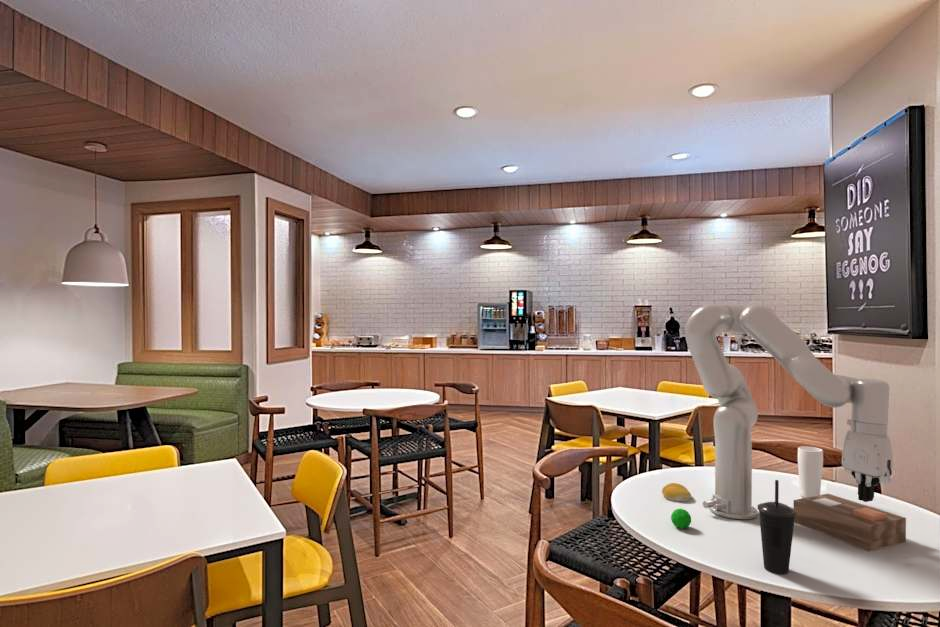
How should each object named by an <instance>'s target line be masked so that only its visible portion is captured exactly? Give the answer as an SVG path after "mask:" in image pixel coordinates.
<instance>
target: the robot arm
mask: <svg viewBox="0 0 940 627" xmlns="http://www.w3.org/2000/svg"><path fill="white" fill-rule="evenodd" d="M718 333H735V334H747V335H748V336H750V338H752V339H753V340H754V341H755V342H756V343H757V344H758V345H759V346H761V347H762V348H763V349H764V350H765V351H766V352H767V353H768V354H770V355H771V356H772V358H774V359H775V360H776V362H778V363H779V365H780V366H781V367H782V368H783V369H784V370H785V371H786V372H787V373H788V375H790V376H791V377H792V378H793V380H795V381H796V383H798V384H799V385H800V386H801V387H802V388H803V389H804V390H805V391H807V393H809V395H810V396H812V397H813V398H814V399H815V400H816V401H818V402H819V403H820V404H822V405H824V406H825V407H828V408H841V407H842V406H845V405H846V404H851V419H847V420H846V425H847V426H850V429H848V430H847V431H846V434H845V437H844V440H843V446H842V452H841V467H843V469H844V471H845V472H846V473H848V474H849V475H852V477H853V478H854V479H855V483H856V484H857V495H858V499H857V500H859V501H862V502H864V503H867V502H873V500H874V499H875V498H874V497H875V487H877V485H879V484H889V483H891V482H892V479H891V476H892V474H893V468H894V466H893V463H894V461H893V460H894V459H893V448H892V447H893V446H892V441H891V438H890V436H888V427H889V426H888V424H889V406H890V404H889V403H890V385H889V383H888V382H887V381H884V380H882V379H881V380H880V379H874V378H856V377H849V376H845V375H840V374H834V373H833V372H832V371H831V370H830V369H829V368H828V367H826V366H825V365H824V364H823V363H822V362H821V361H820V360H819V359H818V358H817V357H816V355H814V353H813V352H812V351H811V350H810V347H809V346H808V344H807V343H806V341H805V340H804V339H803V338H802V337H801V336H800V335H799V334H797V333H796V332H795V331H794V330H793V329H791V327H789V326H788V325H787V324H785V323H784V322H783V321H782V320H781V319H780V318H779V317H778V315H777V313H776V311H775V310H774V309H773V308H772V307H770V306H768V305H765V304H719V303H717V304H716V303H709V304H704V305H702V306H700V307H698V308H697V309H696V310H695V311H694V312H693V313H692V314H691V316H689V318H688V319H687V322H686V325H685V331H684V334H685V336H684V337H685V341H686V344H687V348H688V350H689V352H690V354H691V355H690V356H691V357H692V360H693V363H694V366H695V369H696V372H697V373H698V374H697V375H698V376H699V379H700V381H701V384H702V387H703V390H704V391H705V392H706V394H708V395H709V396H710V397H712V398H715V399H717V401H718V403H719V406H718V407H717V409H716V410H715V412H714V415H713V420H712V421H713V433H714V465H715V466H714V470H715V473H714V476H715V477H714V478H715V480H714V484H715V485H714V494H712V498H711V499H710V500H704V501H703V502H702V507H703V508H704V509H709V510H710V512H711V513H713V514H716V515H718V516H719V517H724V518H728V519H734V520H753V519H754V518H756V517H758V515H759V510H758V508H757V507H754V506H752V500H753V498H752V497H753V496H752V495H753V493H752V492H753V490H752V489H753V488H752V487H753V485H752V484H753V482H752V481H753V456H752V455H753V453H752V452H753V451H752V450H753V449H752V448H753V446H752V433H751V432H752V427H753V426H755V424H756V423H757V421H758V417H759V414H758V408H757V405H756V403H755V400H754V398H753V396H752V393H751V391H750V388H749V386H748V384H747V382H746V379H745V377H744V375H743V372H741V370H739V368H738V367H736V366H735V365H733V364H730V363H728V361H727V358H726V356H725V354H724V350H723V348H722V345H720V342H719V341H718V338H717V334H718Z"/></svg>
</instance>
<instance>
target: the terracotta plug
mask: <svg viewBox="0 0 940 627" xmlns="http://www.w3.org/2000/svg"><path fill="white" fill-rule="evenodd" d="M853 515H856V516H859V517H862V518H865V519H868V520H871V521H878V520H883V519H886V514H885V513H882V512H878V511H875V510H872V509H869V508H866V507H865V508H860V509H855V510H853Z"/></svg>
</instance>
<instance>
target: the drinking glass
mask: <svg viewBox="0 0 940 627" xmlns="http://www.w3.org/2000/svg"><path fill="white" fill-rule="evenodd" d="M797 468H798V480H799V483H798V484H799V496H801V497H802V498H807V497H813V496H818V495H821V489H822V488H821V487H822V485H821V484H822V478H823V477H822V476H823V470H824V450H823V449H822V448H819V447H815V446H806V445H805V446H803V445H801V446H798V447H797Z"/></svg>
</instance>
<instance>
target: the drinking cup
mask: <svg viewBox="0 0 940 627" xmlns="http://www.w3.org/2000/svg"><path fill="white" fill-rule="evenodd" d="M779 488H780V486H779V480H778V479H775V480H774V501H766V502H762V503H759V504H758V505H757V511H758V515H759V523H760V524H759V526H760V537H761V548H762V549H761V550H762V561H763V568H764V569H765V571H767V572H769V573H772V574H776V575H787V574H788V573H789V570H790V560H791V552H792V545H793V534H794V527H795V522H794V519H795V515H796V510H795V509H793V507H791V506H789V505H787V504H785V503H782V502H779Z"/></svg>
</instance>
